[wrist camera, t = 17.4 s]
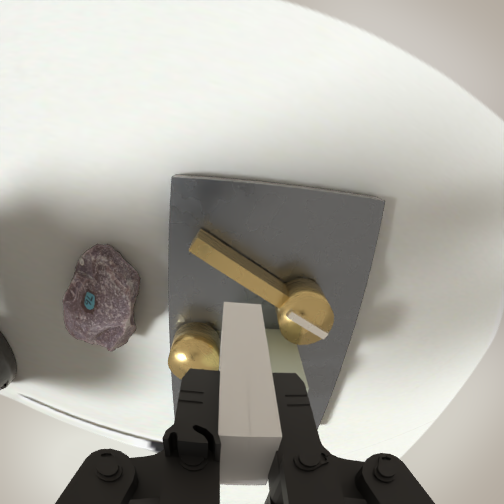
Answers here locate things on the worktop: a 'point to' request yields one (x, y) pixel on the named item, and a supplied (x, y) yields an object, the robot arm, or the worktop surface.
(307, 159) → the worktop surface
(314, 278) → the grey knob board
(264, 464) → the robot arm
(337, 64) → the worktop surface
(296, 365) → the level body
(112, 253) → the rock
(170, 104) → the worktop surface
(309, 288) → the knob
